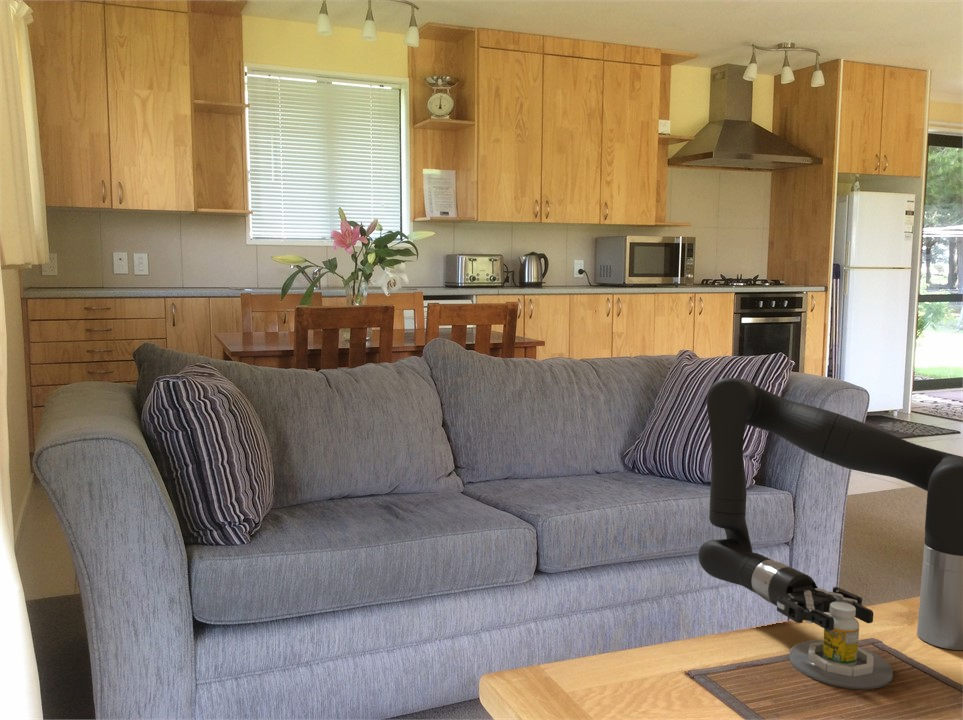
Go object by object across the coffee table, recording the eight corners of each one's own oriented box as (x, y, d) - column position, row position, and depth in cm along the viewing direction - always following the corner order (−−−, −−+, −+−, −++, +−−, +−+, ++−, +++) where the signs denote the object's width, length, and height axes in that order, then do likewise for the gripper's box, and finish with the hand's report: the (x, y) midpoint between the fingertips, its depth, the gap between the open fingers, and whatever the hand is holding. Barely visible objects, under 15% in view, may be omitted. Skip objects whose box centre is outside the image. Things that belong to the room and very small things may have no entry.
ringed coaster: (793, 637, 153) (794, 627, 153) (891, 656, 146) (892, 645, 146) (785, 675, 139) (786, 664, 138) (893, 698, 132) (894, 686, 132)
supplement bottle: (863, 666, 141) (868, 610, 140) (837, 670, 139) (841, 614, 138) (841, 651, 146) (845, 598, 145) (815, 655, 144) (818, 601, 143)
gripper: (753, 571, 152) (820, 605, 137) (814, 562, 157) (886, 594, 142) (750, 611, 152) (817, 649, 137) (812, 600, 158) (882, 636, 143)
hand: (852, 621), depth 140 cm, fingers open, 8 cm apart
